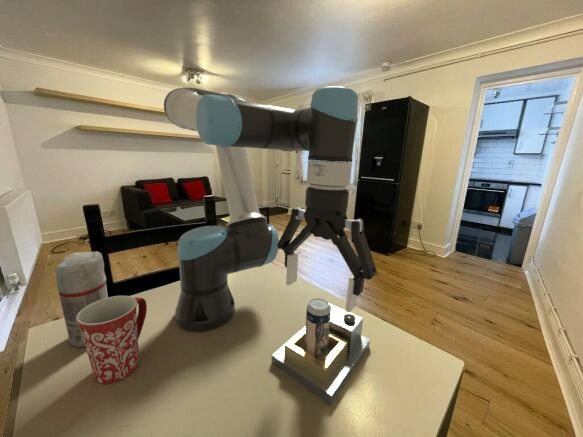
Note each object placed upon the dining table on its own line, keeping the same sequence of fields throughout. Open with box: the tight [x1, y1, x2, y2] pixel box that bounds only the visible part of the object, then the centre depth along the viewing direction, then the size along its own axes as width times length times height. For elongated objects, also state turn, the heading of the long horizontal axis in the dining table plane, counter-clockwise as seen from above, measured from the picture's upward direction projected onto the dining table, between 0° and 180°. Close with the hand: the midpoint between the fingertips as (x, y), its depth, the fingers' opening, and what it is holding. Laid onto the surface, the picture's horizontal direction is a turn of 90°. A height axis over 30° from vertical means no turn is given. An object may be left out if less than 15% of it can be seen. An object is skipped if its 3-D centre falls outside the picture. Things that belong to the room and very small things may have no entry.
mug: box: [76, 295, 148, 385], centre depth 49 cm, size 13×9×14 cm
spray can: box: [54, 251, 109, 348], centre depth 55 cm, size 8×8×20 cm
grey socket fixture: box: [271, 302, 371, 406], centre depth 53 cm, size 14×18×8 cm
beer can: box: [304, 297, 331, 361], centre depth 50 cm, size 5×5×12 cm
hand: (318, 294), depth 48 cm, fingers open, 13 cm apart
